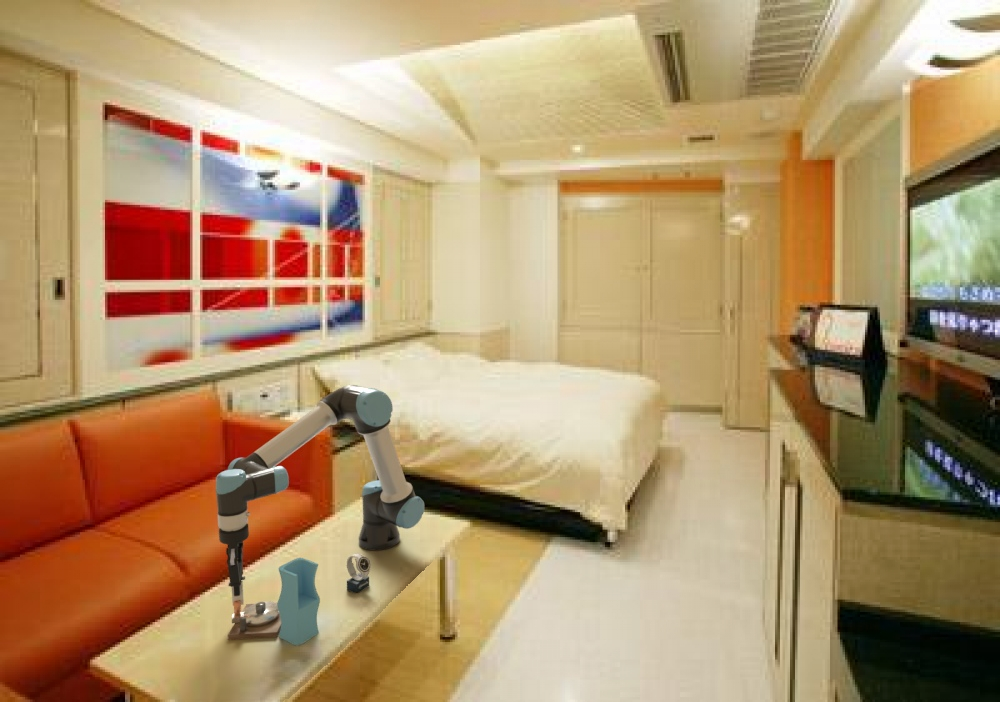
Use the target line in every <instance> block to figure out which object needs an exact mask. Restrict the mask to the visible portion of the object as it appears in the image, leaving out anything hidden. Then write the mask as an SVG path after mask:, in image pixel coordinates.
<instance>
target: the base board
mask: <svg viewBox="0 0 1000 702" xmlns="http://www.w3.org/2000/svg"><path fill="white" fill-rule="evenodd" d="M253 604H254V603H247V604H245V606H244V608H243V609H242V610H241V612H243V611H244V610H245V609H246V608H247V607H249V606H251V605H253ZM280 630H281V617H280V614H279V616H278V617H277V618H276V619H275V620H274V621H272V622H270V623H268V624H265V625H261V626H247V625H246V617H241V618H240V622H237V623H233V625H232V627H231V629H230V630H229V632H228V634H227V640H228V641H232V640H233V641H234V640H235V641H236V640H249V639H250V640H251V639H270V638H271V639H273V638H279V634H280Z"/></svg>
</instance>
